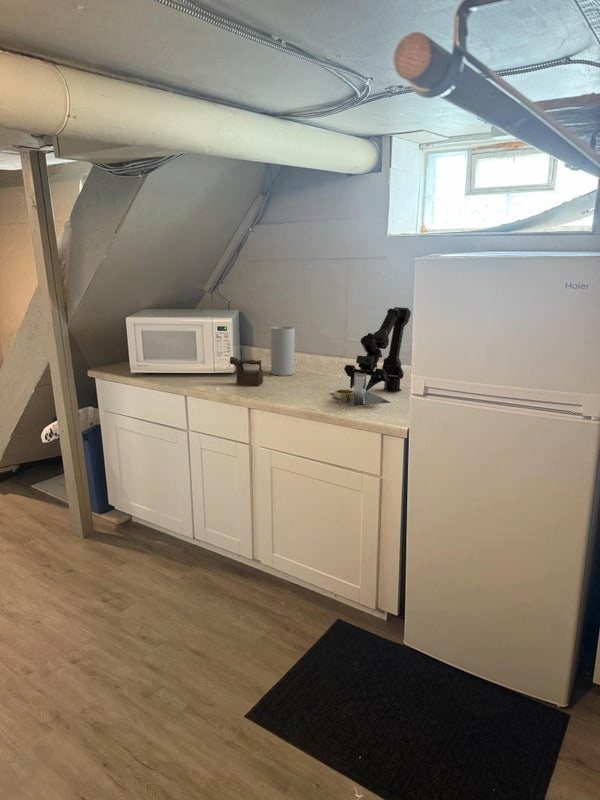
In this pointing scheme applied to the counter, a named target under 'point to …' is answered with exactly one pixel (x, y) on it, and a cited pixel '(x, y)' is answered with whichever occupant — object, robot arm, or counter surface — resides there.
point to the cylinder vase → (282, 350)
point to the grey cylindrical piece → (360, 387)
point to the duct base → (368, 400)
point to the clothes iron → (247, 372)
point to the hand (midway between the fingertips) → (358, 388)
